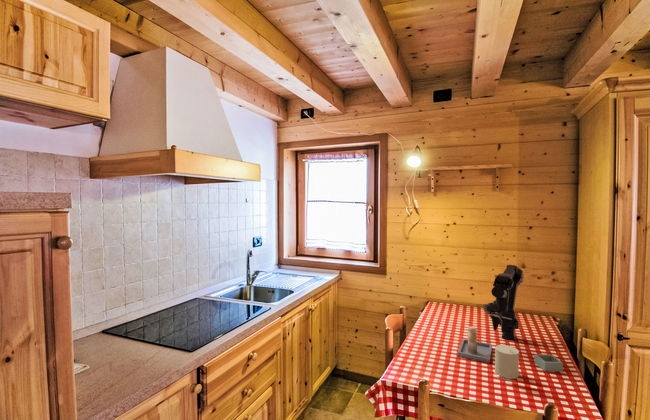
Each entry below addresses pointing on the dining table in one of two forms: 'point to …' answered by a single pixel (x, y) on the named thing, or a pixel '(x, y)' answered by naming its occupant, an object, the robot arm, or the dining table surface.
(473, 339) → the dowel
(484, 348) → the tray
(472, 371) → the dining table surface
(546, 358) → the grey square bin
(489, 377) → the dining table surface
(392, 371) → the dining table surface
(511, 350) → the can
